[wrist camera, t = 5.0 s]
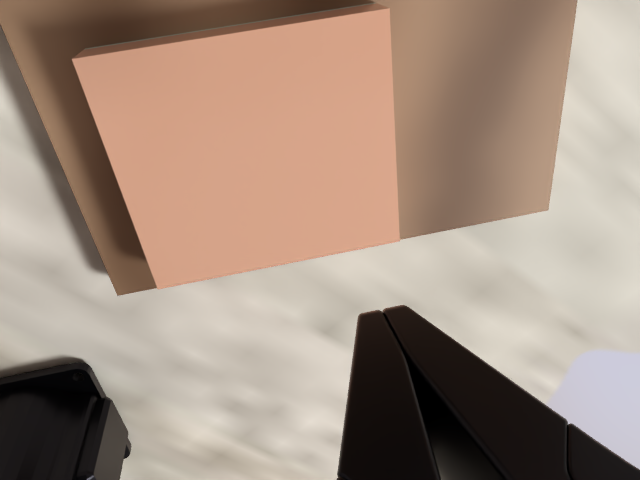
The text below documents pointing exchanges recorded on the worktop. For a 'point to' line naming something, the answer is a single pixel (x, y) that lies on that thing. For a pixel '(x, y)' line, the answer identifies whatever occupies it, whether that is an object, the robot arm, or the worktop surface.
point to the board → (408, 90)
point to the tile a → (251, 140)
